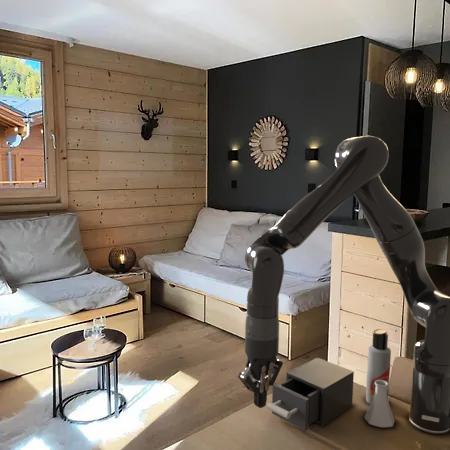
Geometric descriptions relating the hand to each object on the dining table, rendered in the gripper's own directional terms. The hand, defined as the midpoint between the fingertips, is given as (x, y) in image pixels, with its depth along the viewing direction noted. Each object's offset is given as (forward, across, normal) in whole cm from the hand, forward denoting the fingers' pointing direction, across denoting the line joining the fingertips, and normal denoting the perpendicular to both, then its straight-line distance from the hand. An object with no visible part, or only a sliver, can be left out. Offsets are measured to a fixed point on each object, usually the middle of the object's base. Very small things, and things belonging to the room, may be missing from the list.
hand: (260, 405), depth 103 cm
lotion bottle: (+9, +37, -9) cm, 39 cm away
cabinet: (+9, +23, 0) cm, 25 cm away
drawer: (+8, +14, 0) cm, 16 cm away
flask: (+9, +29, -14) cm, 33 cm away
